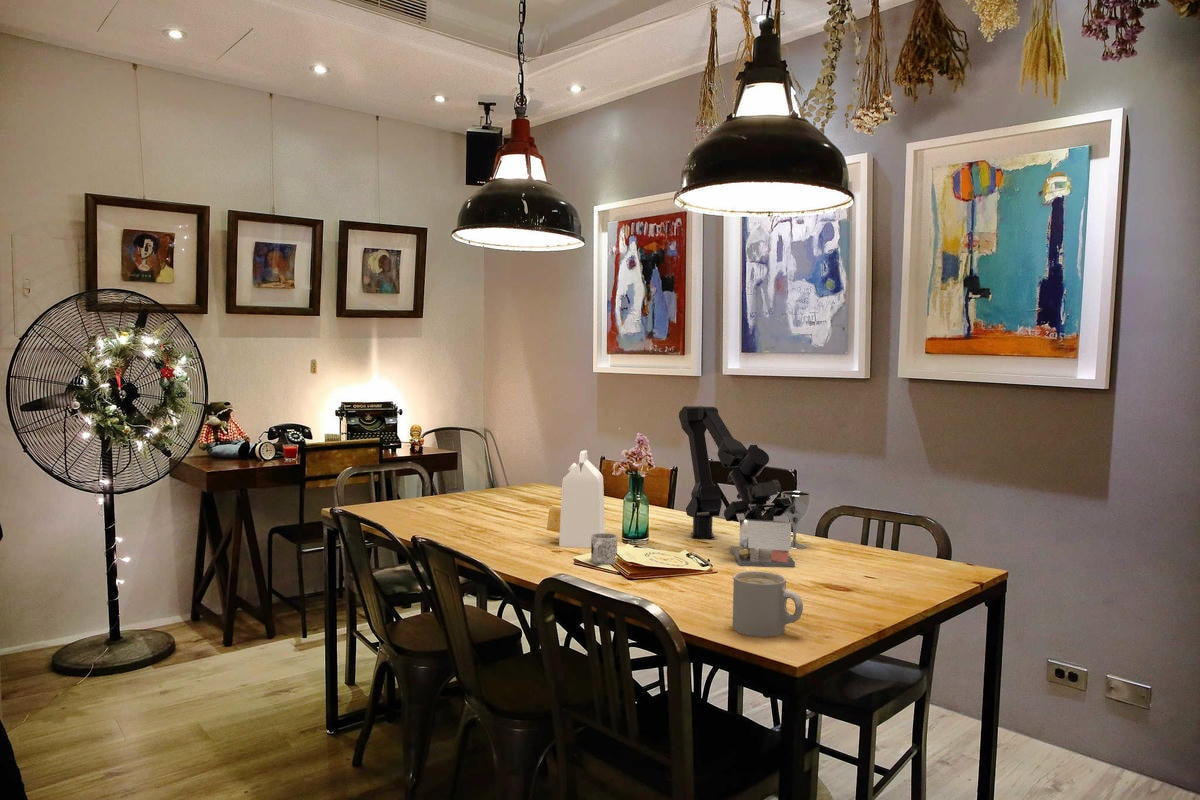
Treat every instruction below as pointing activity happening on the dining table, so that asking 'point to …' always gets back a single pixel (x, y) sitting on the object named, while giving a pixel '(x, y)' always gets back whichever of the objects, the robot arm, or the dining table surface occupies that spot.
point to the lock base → (762, 557)
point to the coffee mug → (762, 604)
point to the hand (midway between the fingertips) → (770, 536)
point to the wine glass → (796, 512)
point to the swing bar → (765, 534)
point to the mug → (603, 548)
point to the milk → (581, 504)
